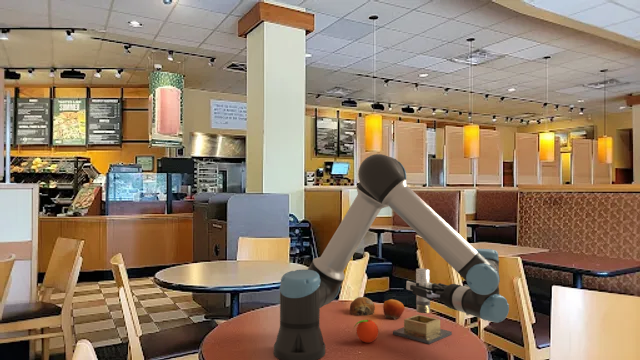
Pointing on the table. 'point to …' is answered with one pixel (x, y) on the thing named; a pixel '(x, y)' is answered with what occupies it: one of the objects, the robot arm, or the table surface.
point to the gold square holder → (422, 329)
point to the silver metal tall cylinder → (424, 280)
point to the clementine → (367, 330)
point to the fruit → (393, 308)
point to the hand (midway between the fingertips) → (413, 284)
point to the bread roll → (362, 306)
